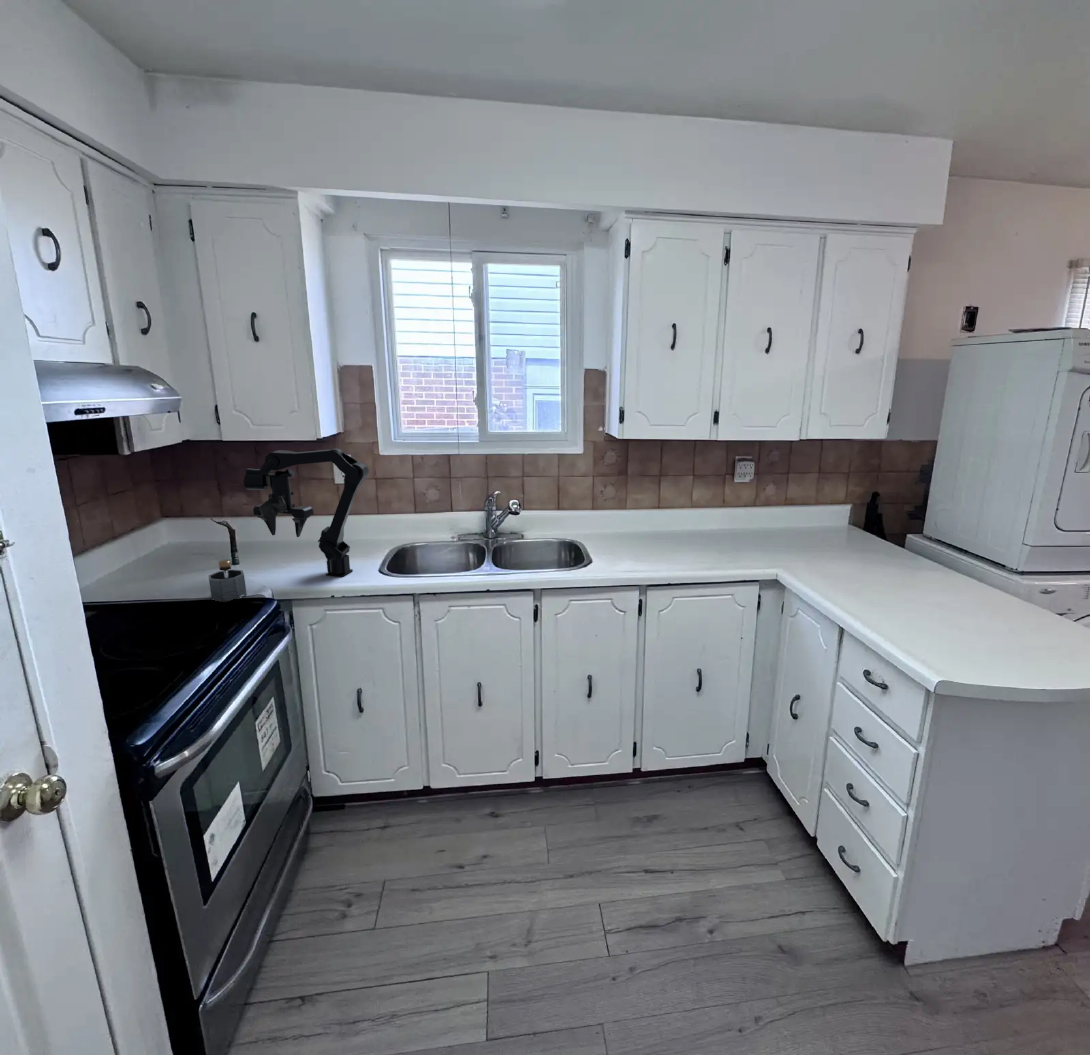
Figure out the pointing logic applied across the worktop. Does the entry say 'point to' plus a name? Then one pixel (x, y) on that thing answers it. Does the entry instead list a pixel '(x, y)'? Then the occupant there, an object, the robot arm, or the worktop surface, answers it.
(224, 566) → the plunger
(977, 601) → the worktop surface
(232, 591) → the grey octagonal pot
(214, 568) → the worktop surface
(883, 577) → the worktop surface
